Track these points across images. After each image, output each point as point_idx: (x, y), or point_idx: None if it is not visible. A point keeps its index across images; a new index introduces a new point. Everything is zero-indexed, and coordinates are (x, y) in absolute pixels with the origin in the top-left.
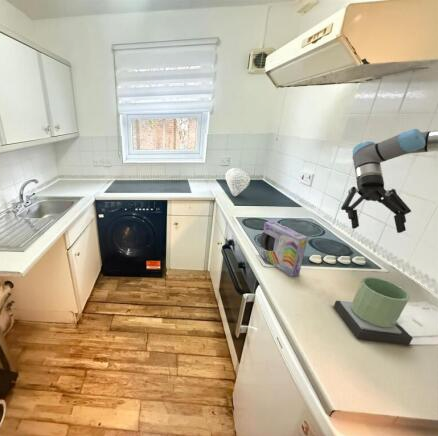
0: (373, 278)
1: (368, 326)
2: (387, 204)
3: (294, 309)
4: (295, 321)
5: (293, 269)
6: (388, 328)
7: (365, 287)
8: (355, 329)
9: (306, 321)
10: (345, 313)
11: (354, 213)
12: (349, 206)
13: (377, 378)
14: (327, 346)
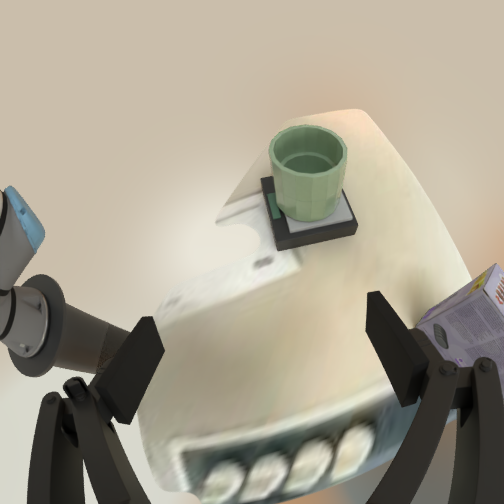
0: (320, 172)
1: None
2: (131, 481)
3: (413, 204)
4: (407, 180)
5: (439, 303)
6: None
7: (343, 142)
8: None
9: (394, 185)
10: (346, 197)
11: (415, 343)
12: (461, 386)
13: None
14: (367, 154)
